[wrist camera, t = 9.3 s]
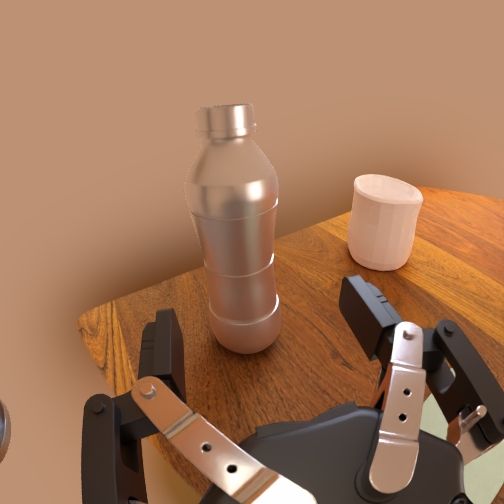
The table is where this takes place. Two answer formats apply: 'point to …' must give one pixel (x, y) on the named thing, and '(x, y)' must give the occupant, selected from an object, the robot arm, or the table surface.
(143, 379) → the robot arm
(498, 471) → the mat
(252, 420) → the table surface
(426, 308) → the table surface
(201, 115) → the metal bottle
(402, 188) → the cup
